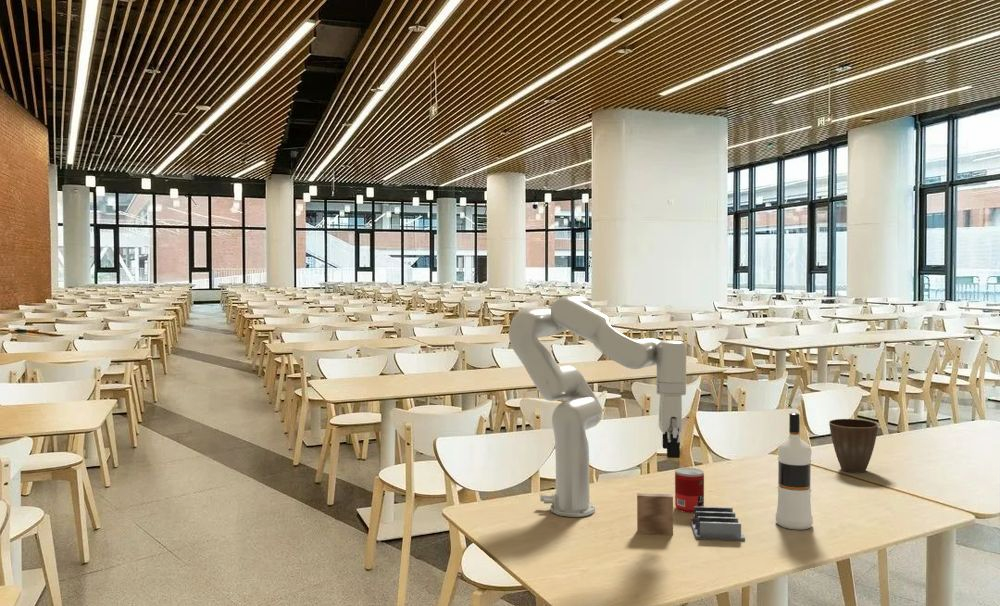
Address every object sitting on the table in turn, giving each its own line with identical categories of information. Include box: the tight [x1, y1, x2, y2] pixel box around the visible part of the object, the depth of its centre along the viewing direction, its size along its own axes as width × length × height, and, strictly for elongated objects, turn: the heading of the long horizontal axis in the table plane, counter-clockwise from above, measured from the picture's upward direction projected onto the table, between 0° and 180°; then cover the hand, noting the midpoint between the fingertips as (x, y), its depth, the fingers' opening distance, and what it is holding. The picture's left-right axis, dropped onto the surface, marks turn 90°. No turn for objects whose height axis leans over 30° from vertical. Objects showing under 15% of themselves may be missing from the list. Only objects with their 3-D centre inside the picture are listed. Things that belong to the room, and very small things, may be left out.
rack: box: [689, 506, 746, 542], centre depth 198 cm, size 12×13×4 cm
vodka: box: [775, 412, 814, 531], centre depth 201 cm, size 9×9×30 cm
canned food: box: [674, 467, 705, 514], centre depth 216 cm, size 8×8×11 cm
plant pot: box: [828, 418, 879, 473], centre depth 255 cm, size 15×15×16 cm
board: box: [636, 492, 674, 536], centre depth 197 cm, size 9×2×10 cm, turn 82°
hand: (670, 452), depth 198 cm, fingers open, 9 cm apart
